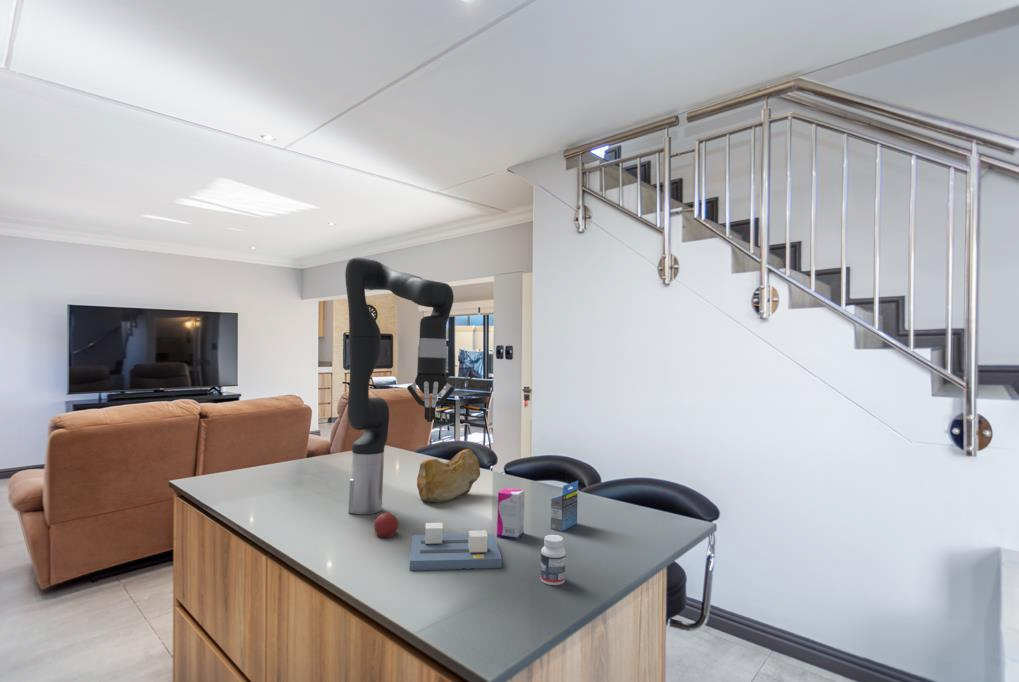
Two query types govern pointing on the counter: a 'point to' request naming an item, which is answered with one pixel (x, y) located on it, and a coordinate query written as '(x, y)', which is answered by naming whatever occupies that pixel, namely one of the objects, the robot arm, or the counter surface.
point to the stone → (447, 477)
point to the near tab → (478, 541)
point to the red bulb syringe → (386, 525)
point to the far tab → (433, 533)
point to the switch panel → (452, 554)
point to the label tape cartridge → (564, 508)
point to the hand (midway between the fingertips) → (429, 421)
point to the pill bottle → (553, 560)
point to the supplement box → (510, 513)
